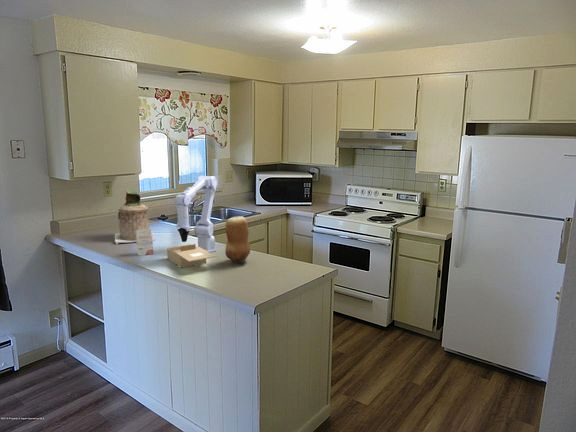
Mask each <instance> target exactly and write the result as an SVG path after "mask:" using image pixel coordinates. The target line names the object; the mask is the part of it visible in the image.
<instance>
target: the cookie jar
mask: <svg viewBox="0 0 576 432" xmlns="http://www.w3.org/2000/svg"><path fill="white" fill-rule="evenodd" d="M125 192H126V193H125V198H124V199H125V203H124V204H123V205H122V206H120V207H118V213H117V215H118V216H117V219H118V220H119V221H118V222H119V223H118V224H119V226H118V229H119V232H115V233H114V242H115V244H116V245H118V244H123V243H124V244H125V243H137V239H136V235H137V234H136V230H148V229H150V224H149V217H148V210H149V207H148V206H146V205H145V204H142V203H141V195H140V194H139V193H138V192H137V191H135V190H125ZM141 233H146V232H145V231H143V232H141ZM151 233H152V239H153V242H154V241H155V240H156V237H155V234H154V232H153V231H152V230H151Z"/></svg>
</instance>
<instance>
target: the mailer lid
mask: <svg viewBox="0 0 576 432" xmlns="http://www.w3.org/2000/svg"><path fill="white" fill-rule="evenodd" d="M185 245H186V246H183V245H180V246H181V250H177V251H173V252H174V253H176V254H177V255H179V256H180V257H182V258H183V259H185V260H187V261H188V262H192V261H197V260H202V259H206V260H207V259H211V258H212V259H214V258H216V257H217V255H215V254H213V252H208V251H206V250H204V249H202V248H200V247H198V246H196V244H195V243H193V244H191V245H190V244H185Z"/></svg>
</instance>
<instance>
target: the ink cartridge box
mask: <svg viewBox="0 0 576 432" xmlns="http://www.w3.org/2000/svg"><path fill="white" fill-rule="evenodd" d="M143 231H145V232H146V233H141V232H143ZM151 231H152V229H151V228H149V229H148V230H136V234H137V235H136V239H137V242H136V247H137V248H136V249H137V256H147V255H146V254H151V255H154V243H153V242H154V241H153V239H152V233H151Z"/></svg>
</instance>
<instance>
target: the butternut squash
mask: <svg viewBox="0 0 576 432" xmlns="http://www.w3.org/2000/svg"><path fill="white" fill-rule="evenodd" d="M248 226H249V225H248V221H247V218H246V217H244V216H243V215H241V216H239V215H238V216H232V217H230V218H227V220H226V221H225V234H226V238H227V242H226V245H225V256H226V258H227V259H228V260H229V261H232V262H233V263H235V264H237V263H238V262H240V263H243V262H245V261H246V259H247V258H248V257H249V255H250V253H251V246H250V242H249V227H248Z"/></svg>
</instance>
